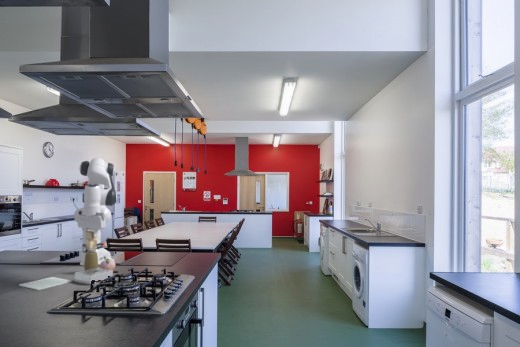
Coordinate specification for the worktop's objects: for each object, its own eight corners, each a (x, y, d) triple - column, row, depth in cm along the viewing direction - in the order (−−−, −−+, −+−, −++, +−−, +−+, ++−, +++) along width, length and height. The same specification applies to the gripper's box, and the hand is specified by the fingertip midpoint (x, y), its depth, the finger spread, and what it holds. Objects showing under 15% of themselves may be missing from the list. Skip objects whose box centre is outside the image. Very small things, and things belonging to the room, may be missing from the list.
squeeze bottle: (101, 271, 212) (101, 242, 213) (90, 274, 205) (91, 244, 206) (91, 270, 215) (91, 242, 216) (80, 273, 207) (81, 244, 208)
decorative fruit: (117, 274, 205) (118, 257, 206) (104, 276, 199) (104, 259, 200) (111, 271, 212) (111, 255, 212) (97, 274, 206) (98, 257, 206)
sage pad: (52, 277, 197) (52, 276, 197) (71, 281, 188) (71, 280, 189) (18, 285, 181) (18, 284, 181) (38, 290, 173) (38, 289, 173)
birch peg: (92, 247, 195) (92, 230, 195) (96, 248, 193) (97, 231, 194) (85, 249, 191) (86, 231, 192) (90, 249, 190) (90, 231, 190)
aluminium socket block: (96, 275, 201) (97, 267, 202) (112, 278, 195) (112, 270, 195) (74, 281, 189) (74, 272, 189) (90, 284, 182) (90, 275, 183)
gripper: (109, 212, 191) (108, 236, 191) (85, 211, 201) (85, 234, 200) (99, 212, 186) (98, 238, 185) (75, 211, 195) (75, 235, 194)
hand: (91, 236), depth 193 cm, fingers closed on birch peg, 4 cm apart
